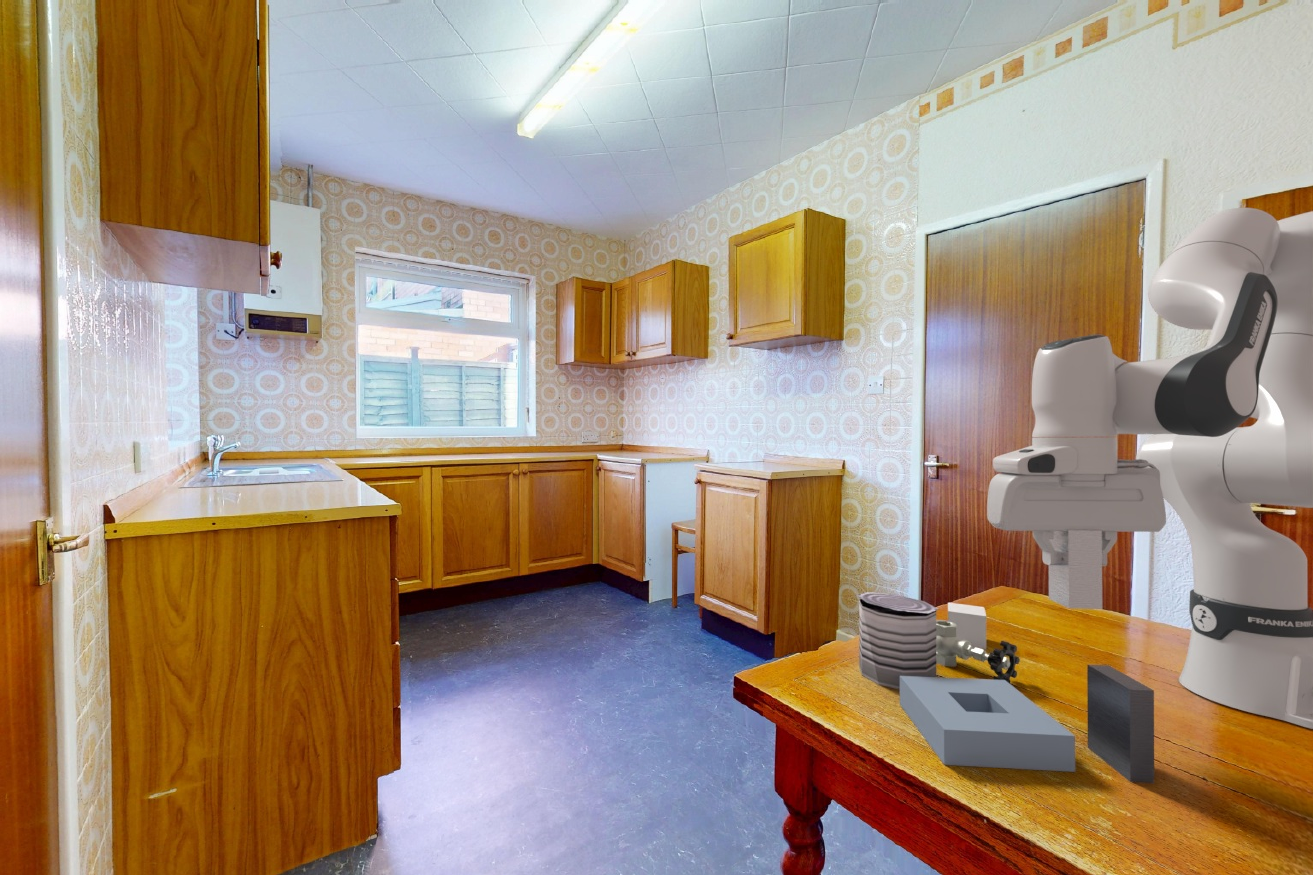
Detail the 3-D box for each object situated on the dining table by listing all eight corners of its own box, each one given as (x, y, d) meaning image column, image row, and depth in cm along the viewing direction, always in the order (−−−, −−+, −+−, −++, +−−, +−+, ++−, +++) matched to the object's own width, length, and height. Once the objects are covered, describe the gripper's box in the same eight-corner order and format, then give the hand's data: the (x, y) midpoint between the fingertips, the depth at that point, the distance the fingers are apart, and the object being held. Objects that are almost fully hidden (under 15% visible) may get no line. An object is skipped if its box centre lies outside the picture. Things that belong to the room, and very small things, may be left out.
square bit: (1080, 599, 72) (1079, 525, 72) (1102, 609, 68) (1101, 530, 68) (1048, 599, 72) (1048, 525, 72) (1069, 608, 68) (1068, 530, 68)
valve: (921, 662, 89) (997, 691, 79) (921, 622, 89) (997, 646, 79) (944, 654, 93) (1020, 681, 82) (944, 616, 93) (1019, 638, 82)
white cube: (986, 650, 95) (986, 616, 95) (947, 643, 98) (947, 611, 98) (984, 638, 100) (984, 606, 100) (947, 633, 103) (947, 602, 103)
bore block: (1005, 709, 74) (1005, 679, 74) (1075, 771, 60) (1075, 735, 60) (899, 704, 75) (899, 675, 75) (944, 764, 61) (944, 729, 61)
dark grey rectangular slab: (1108, 748, 64) (1108, 665, 64) (1154, 783, 58) (1153, 690, 58) (1087, 747, 64) (1087, 664, 64) (1130, 781, 58) (1129, 689, 58)
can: (846, 660, 90) (846, 589, 90) (911, 658, 91) (911, 588, 91) (879, 692, 78) (879, 610, 78) (953, 690, 79) (953, 609, 79)
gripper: (1138, 458, 72) (1139, 560, 72) (980, 458, 74) (981, 558, 74) (1180, 460, 66) (1181, 571, 66) (1006, 460, 68) (1007, 569, 68)
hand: (1074, 564), depth 70 cm, fingers closed on square bit, 4 cm apart
